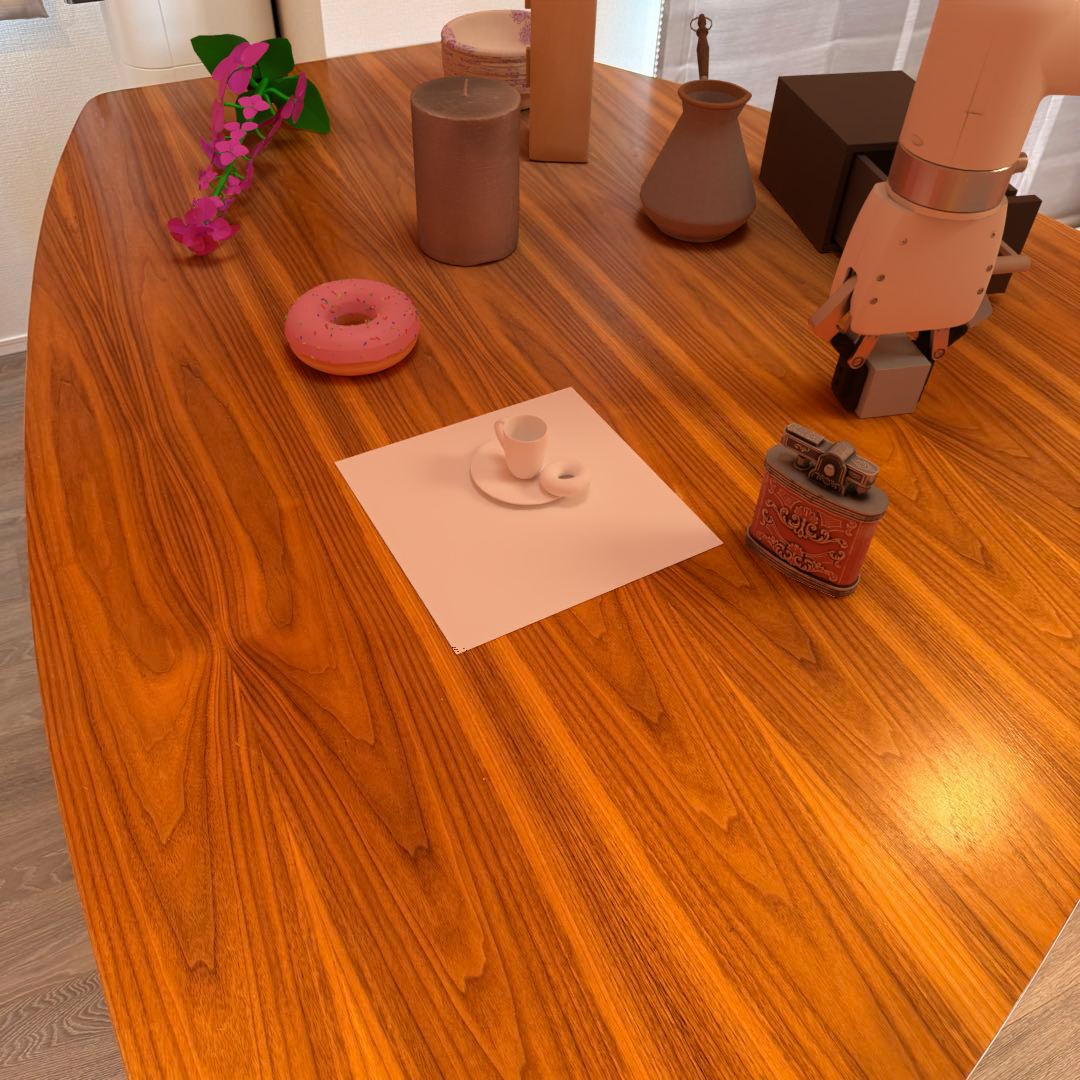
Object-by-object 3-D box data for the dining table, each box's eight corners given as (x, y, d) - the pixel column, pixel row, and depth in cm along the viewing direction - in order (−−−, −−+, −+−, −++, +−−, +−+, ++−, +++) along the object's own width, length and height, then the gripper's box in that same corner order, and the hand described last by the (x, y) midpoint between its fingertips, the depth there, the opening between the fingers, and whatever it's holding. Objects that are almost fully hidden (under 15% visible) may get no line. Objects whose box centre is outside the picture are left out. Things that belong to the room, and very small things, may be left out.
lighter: (866, 578, 64) (912, 462, 56) (840, 607, 62) (884, 490, 55) (761, 520, 67) (792, 403, 60) (734, 545, 65) (762, 428, 58)
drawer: (1033, 321, 85) (1075, 227, 79) (903, 334, 83) (935, 238, 77) (923, 213, 99) (951, 126, 92) (809, 222, 97) (830, 133, 90)
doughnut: (317, 400, 75) (310, 355, 72) (269, 331, 82) (260, 287, 79) (444, 362, 79) (442, 317, 76) (388, 298, 86) (384, 255, 83)
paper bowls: (417, 98, 119) (413, 27, 113) (500, 65, 127) (500, -1, 121) (511, 134, 112) (511, 61, 106) (592, 97, 120) (596, 28, 115)
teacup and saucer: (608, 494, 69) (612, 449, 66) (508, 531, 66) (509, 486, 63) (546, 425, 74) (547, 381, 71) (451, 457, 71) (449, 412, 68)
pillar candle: (442, 211, 98) (435, 53, 87) (533, 229, 96) (537, 69, 85) (400, 255, 91) (388, 91, 81) (497, 276, 89) (497, 109, 79)
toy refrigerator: (524, 131, 112) (528, -79, 98) (588, 134, 112) (601, -76, 97) (521, 161, 107) (524, -57, 92) (588, 164, 107) (601, -54, 92)
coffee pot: (758, 255, 93) (791, 94, 83) (638, 250, 94) (656, 88, 83) (734, 160, 109) (759, 13, 98) (631, 155, 109) (645, 8, 98)
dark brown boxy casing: (947, 242, 96) (985, 136, 89) (820, 253, 94) (847, 144, 87) (873, 170, 108) (901, 69, 100) (758, 177, 106) (778, 75, 98)
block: (887, 379, 80) (903, 330, 76) (913, 413, 76) (931, 364, 73) (835, 384, 79) (849, 336, 76) (859, 419, 76) (875, 370, 72)
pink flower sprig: (319, 146, 117) (271, 326, 94) (181, 73, 110) (94, 248, 87) (361, 56, 109) (319, 229, 86) (216, -29, 102) (129, 135, 79)
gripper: (1031, 143, 69) (947, 360, 81) (807, 157, 66) (757, 379, 79) (1095, 191, 63) (994, 414, 76) (855, 209, 61) (793, 437, 74)
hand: (875, 394), depth 77 cm, fingers closed on block, 4 cm apart
